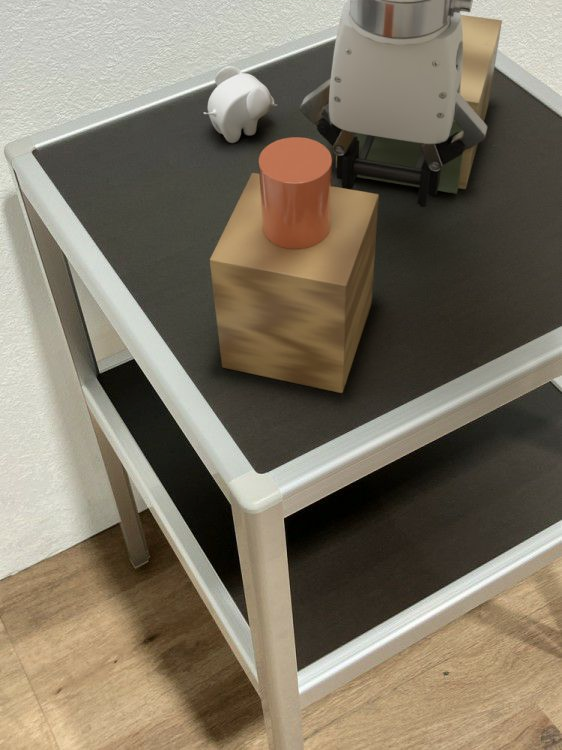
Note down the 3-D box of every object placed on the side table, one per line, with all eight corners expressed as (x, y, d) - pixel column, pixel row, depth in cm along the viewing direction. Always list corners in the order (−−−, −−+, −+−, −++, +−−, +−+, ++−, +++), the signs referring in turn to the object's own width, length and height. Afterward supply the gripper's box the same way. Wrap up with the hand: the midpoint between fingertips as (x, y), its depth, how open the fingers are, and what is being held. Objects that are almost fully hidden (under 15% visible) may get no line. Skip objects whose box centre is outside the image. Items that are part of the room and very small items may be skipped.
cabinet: (465, 189, 91) (479, 102, 83) (335, 167, 93) (337, 81, 86) (488, 105, 99) (502, 19, 92) (368, 87, 101) (372, 2, 94)
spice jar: (338, 209, 71) (339, 143, 67) (320, 255, 68) (321, 188, 64) (273, 198, 72) (270, 131, 68) (253, 242, 69) (249, 176, 65)
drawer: (445, 234, 86) (455, 164, 80) (321, 212, 88) (321, 142, 82) (478, 114, 97) (489, 44, 91) (367, 97, 99) (370, 28, 93)
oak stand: (371, 304, 82) (378, 193, 72) (342, 393, 76) (346, 285, 66) (259, 282, 84) (252, 172, 74) (221, 367, 78) (209, 259, 68)
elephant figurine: (292, 133, 97) (291, 81, 92) (224, 162, 94) (220, 110, 90) (256, 100, 101) (253, 49, 96) (189, 128, 98) (183, 76, 93)
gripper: (526, -12, 72) (491, 180, 86) (302, -39, 75) (304, 149, 89) (511, 43, 67) (477, 236, 81) (274, 11, 71) (280, 201, 85)
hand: (387, 189), depth 85 cm, fingers closed on drawer, 6 cm apart
